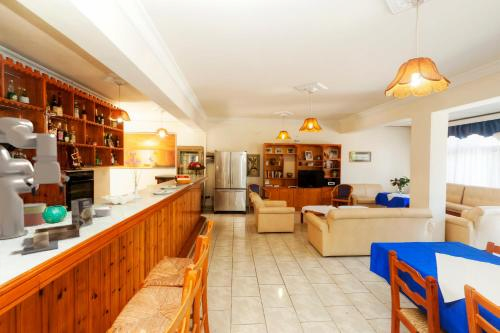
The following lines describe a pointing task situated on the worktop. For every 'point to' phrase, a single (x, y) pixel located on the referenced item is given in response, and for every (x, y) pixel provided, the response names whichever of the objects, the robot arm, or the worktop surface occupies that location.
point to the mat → (30, 248)
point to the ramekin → (103, 211)
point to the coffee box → (82, 212)
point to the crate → (60, 232)
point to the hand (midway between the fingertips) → (47, 195)
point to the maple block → (40, 240)
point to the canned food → (33, 214)
